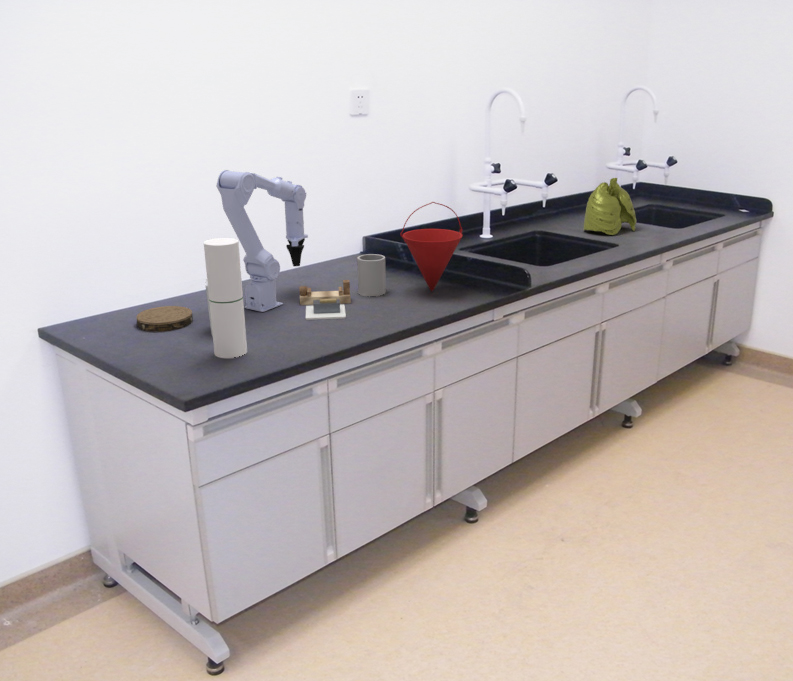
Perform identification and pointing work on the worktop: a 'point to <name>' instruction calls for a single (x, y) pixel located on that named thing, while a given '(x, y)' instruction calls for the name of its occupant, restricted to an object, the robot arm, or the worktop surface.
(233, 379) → the worktop surface
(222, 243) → the container
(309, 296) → the wooden block stand
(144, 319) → the wood slice
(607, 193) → the lungs
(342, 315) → the white base plate
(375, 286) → the cup
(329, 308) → the lever cap
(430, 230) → the fire bucket
